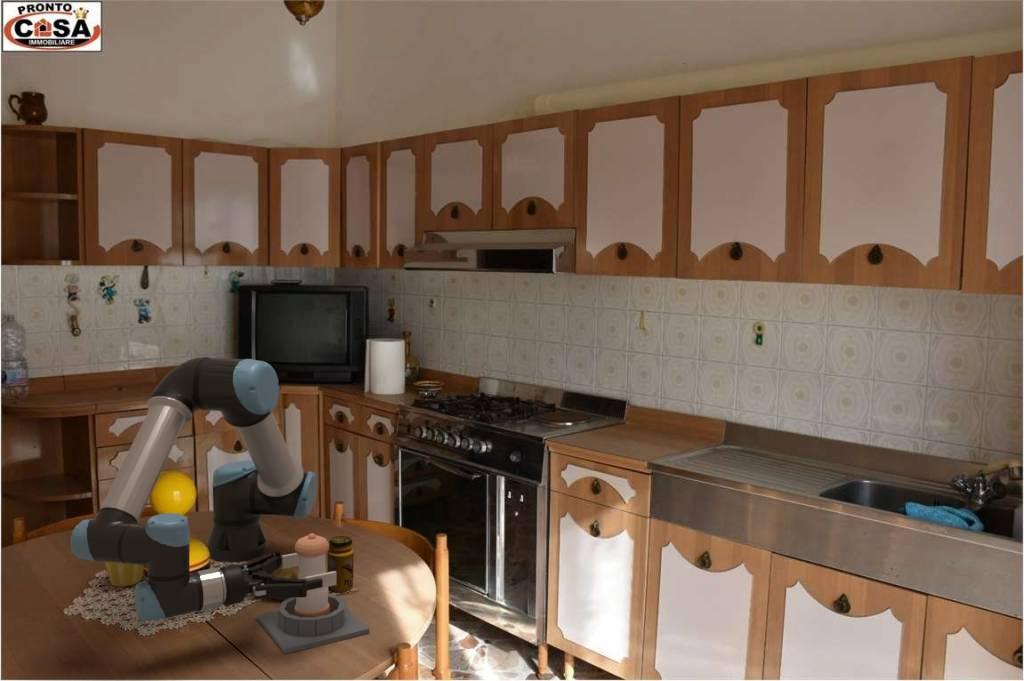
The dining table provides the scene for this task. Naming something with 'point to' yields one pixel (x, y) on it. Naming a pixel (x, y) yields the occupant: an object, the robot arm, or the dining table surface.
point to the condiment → (341, 563)
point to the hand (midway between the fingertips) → (323, 567)
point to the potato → (285, 575)
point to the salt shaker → (309, 565)
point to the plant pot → (124, 573)
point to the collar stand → (311, 626)
